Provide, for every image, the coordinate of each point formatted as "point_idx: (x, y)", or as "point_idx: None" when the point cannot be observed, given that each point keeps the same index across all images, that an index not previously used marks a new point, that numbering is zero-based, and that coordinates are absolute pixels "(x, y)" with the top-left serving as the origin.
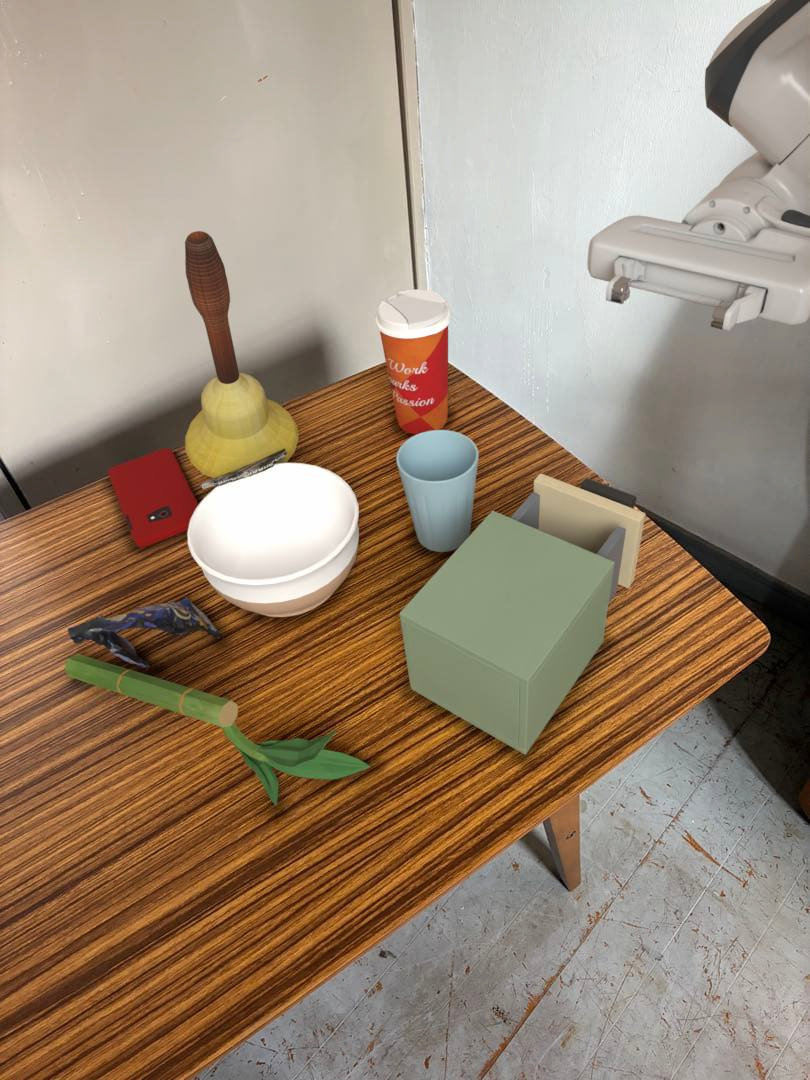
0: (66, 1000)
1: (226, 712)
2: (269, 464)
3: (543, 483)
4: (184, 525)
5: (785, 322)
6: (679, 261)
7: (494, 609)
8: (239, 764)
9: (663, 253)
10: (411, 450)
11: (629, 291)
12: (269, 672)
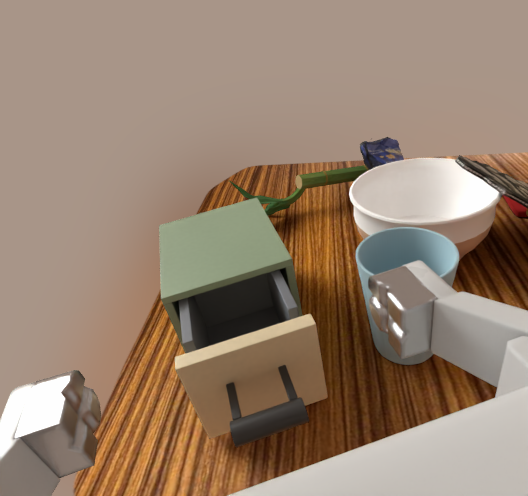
0: (253, 173)
1: (298, 179)
2: (461, 163)
3: (298, 317)
4: (511, 203)
5: None
6: (334, 458)
7: (210, 228)
8: (295, 209)
9: (462, 448)
10: (447, 255)
11: (398, 340)
12: (340, 224)
